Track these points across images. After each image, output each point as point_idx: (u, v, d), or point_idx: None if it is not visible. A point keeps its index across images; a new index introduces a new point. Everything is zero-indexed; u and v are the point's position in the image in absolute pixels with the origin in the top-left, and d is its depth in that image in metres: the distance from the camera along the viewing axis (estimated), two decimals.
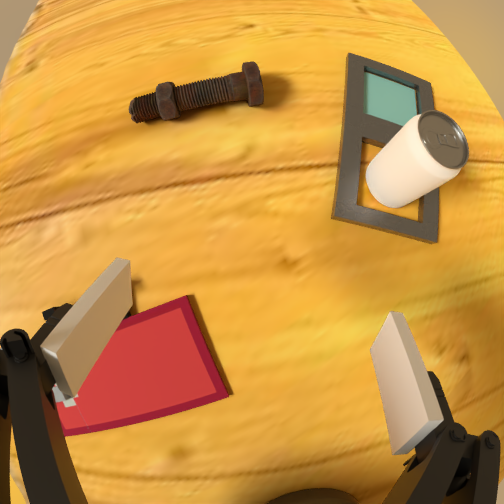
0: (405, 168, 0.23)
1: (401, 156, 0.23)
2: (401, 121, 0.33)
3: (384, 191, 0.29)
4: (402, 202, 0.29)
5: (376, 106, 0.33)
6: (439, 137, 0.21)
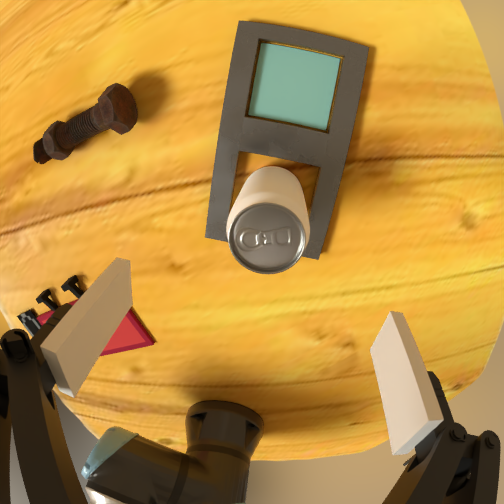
0: None
1: None
2: (304, 114, 0.28)
3: None
4: None
5: (270, 97, 0.28)
6: (261, 237, 0.22)
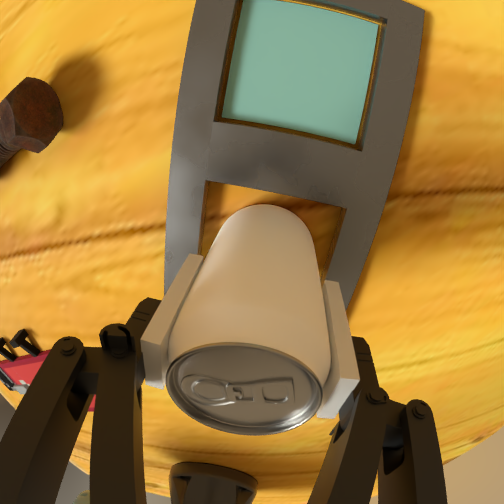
0: None
1: None
2: (318, 115, 0.16)
3: None
4: None
5: (259, 85, 0.16)
6: (232, 389, 0.10)
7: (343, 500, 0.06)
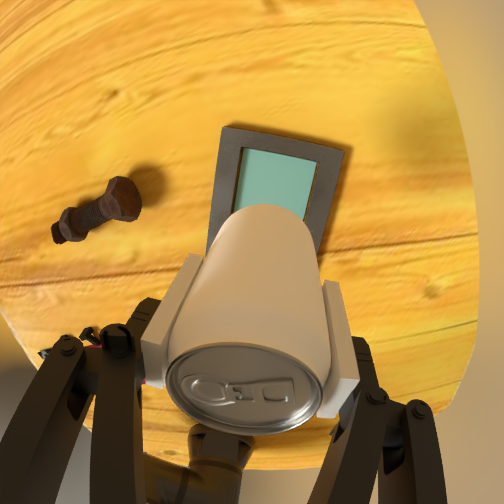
0: None
1: None
2: None
3: None
4: None
5: (252, 200, 0.34)
6: (232, 390, 0.10)
7: (343, 500, 0.06)
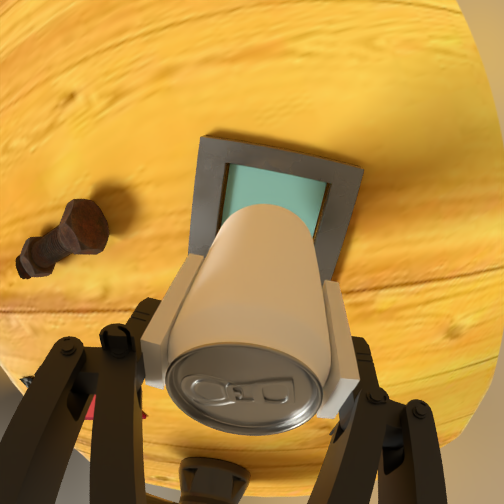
0: None
1: None
2: None
3: None
4: None
5: None
6: (232, 390, 0.10)
7: (343, 500, 0.06)
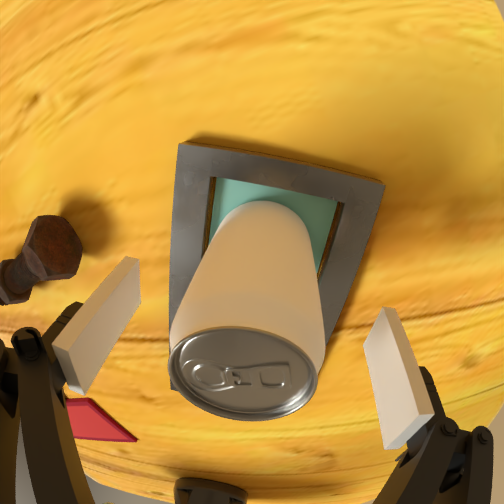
0: None
1: None
2: None
3: None
4: None
5: None
6: (231, 374, 0.11)
7: None
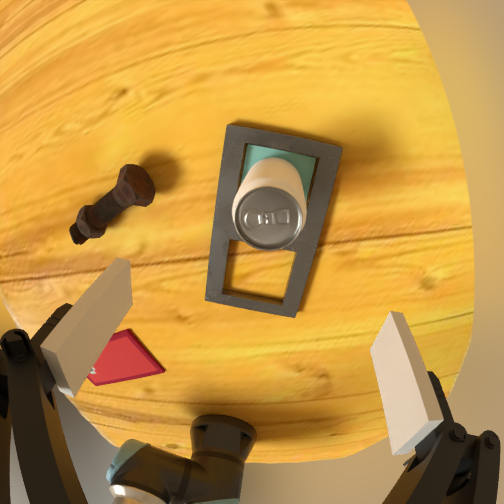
0: None
1: None
2: None
3: None
4: None
5: None
6: (263, 217, 0.25)
7: None
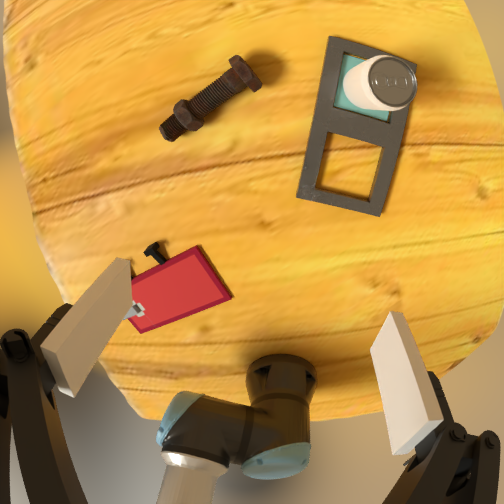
0: (360, 95, 0.29)
1: (357, 87, 0.28)
2: None
3: (353, 100, 0.34)
4: None
5: None
6: (388, 80, 0.25)
7: None
